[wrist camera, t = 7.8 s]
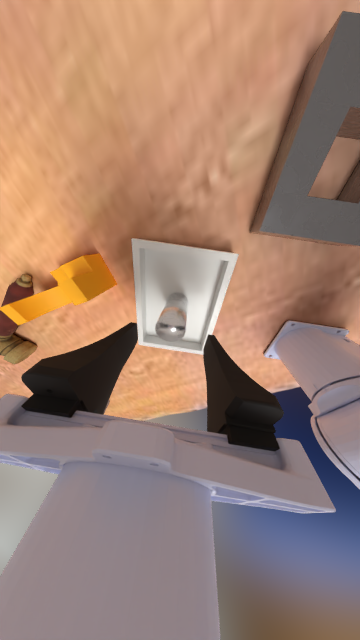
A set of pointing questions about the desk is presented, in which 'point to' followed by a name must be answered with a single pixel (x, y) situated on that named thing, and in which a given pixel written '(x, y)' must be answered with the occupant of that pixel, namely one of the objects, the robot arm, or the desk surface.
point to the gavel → (3, 327)
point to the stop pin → (173, 318)
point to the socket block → (318, 147)
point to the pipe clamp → (65, 289)
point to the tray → (179, 289)
